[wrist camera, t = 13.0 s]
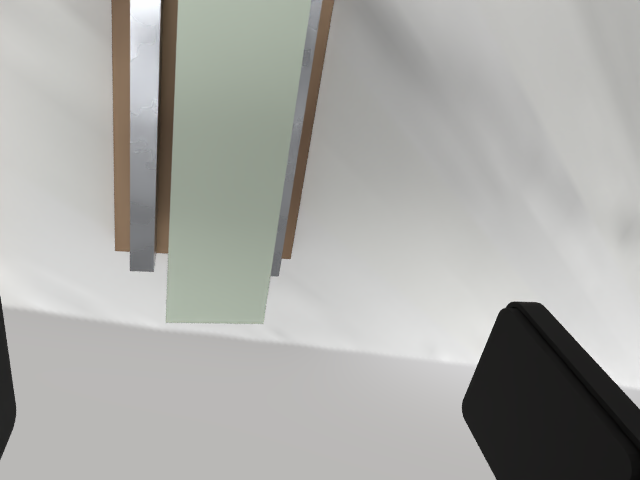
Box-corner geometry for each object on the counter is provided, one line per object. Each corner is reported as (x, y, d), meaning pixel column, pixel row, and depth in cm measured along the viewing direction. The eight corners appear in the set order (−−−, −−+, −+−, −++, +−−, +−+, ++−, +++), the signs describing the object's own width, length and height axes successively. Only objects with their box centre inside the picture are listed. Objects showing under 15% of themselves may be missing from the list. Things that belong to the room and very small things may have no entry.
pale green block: (279, -49, 23) (318, -46, 15) (246, 226, 30) (263, 323, 22) (187, -67, 22) (180, -74, 14) (174, 222, 29) (165, 322, 21)
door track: (343, -84, 24) (360, -88, 21) (288, 250, 32) (295, 276, 30) (113, -136, 21) (101, -147, 19) (117, 242, 30) (109, 270, 27)
